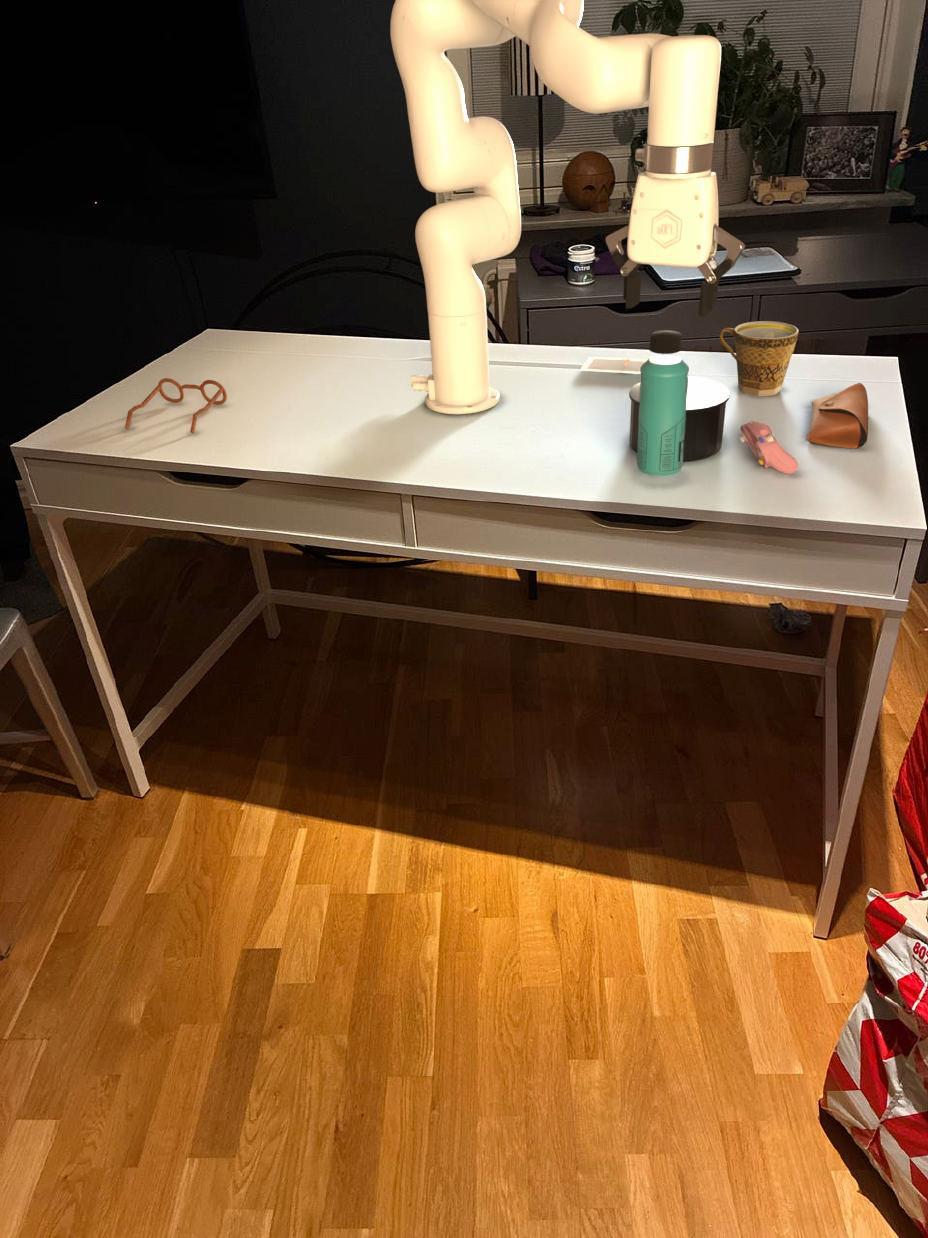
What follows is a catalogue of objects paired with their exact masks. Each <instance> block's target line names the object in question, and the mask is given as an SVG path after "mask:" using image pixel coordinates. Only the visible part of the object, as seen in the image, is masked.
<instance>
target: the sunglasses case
mask: <svg viewBox="0 0 928 1238" xmlns="http://www.w3.org/2000/svg"><path fill="white" fill-rule="evenodd" d="M811 407H812V414H811V420H810V426H809V429H808V432H807V435H806V442H807V441H808V442H809V443H812V444H817V445H820V446H825V447H830V448H840V449H851V450H857V449H860V448H862V447H864V446H865V445H866V444H867V442H868V438H869V398H868V393H867V389H866V386H865V385H864V384H863V383H862V382H857V383H853V384H852V385H849V386H848V387H846V388H844V389H843V390H841V391H837V392H835V393H831V394H828V395H824V396H821V397H819V398H816V399H813V400H811Z"/></svg>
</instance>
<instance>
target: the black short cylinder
mask: <svg viewBox="0 0 928 1238" xmlns="http://www.w3.org/2000/svg"><path fill="white" fill-rule="evenodd" d="M638 407H639V406H638V405H637V404H635V403H634V402H632V401H631V400H630V418H629V419H630V420H629V447H630V448H631V450H632V451H633V452H634V453H636V444H637V450H638V428H637V427H638V418H639V416H638V415H639V408H638ZM726 407H727V402H726V403H725V404H724V405H722V406H720V407H718V408H715V409H712V410H707V411H702V412H695V413H686V417H687V418H686V420H687V421H686V420H685V428H686V429H685V432H686V433H685V434H686V435H684V445H685V452H684V451H683V457H684V458H683V460H684V462H683V463H690V462H696V461H697V462H698V461H701V460H705V459H709V458H712V457H713V456H715V455H716V454H718V453H719V452H720V451H721V449H722V445H723V438H724V430H725V429H724V427H725V420H726V419H725V417H726ZM637 414H638V415H637ZM685 437H686V438H685Z"/></svg>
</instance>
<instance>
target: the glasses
mask: <svg viewBox="0 0 928 1238" xmlns="http://www.w3.org/2000/svg"><path fill="white" fill-rule="evenodd" d="M163 383H170V384H173V385H174V386H175V387H176V388H177V389H178V391H179V397H178V398H170V397H169V396H168V395H167V394H166V393H165V392H164V390H163ZM207 385H213V386H216V387H217V388H218V390H217V392H216V393H215V394H214V395H213V396H212V397H211V398H210V397H209V396H208V395H207V393H206V391H205V386H207ZM184 389H190V390H191V389H192V390H193V389H194V390H199V391H200V393H201V395H202V397H203V398H204V400H205V401H206V402H208V403H207V404H206V405H205V406H204V407H202V408H200V409H198V410H196V412H195V413H194V414H193V415H192V420H191V425H190V429H189V430H190V431H189V432H190V433H191V434H195V430H196V425H197V419H198V416H200V415H201V414H203V413H205V412H207V411H209V409H210V408H211V407H212V406H213V405H216V406H221V405H224V404H225V403H226V401H227V398H228V396H227V391H226V389H225V387H224V386H223V384H221V383H220V382H218V381H216V380H214V379H207V380H204V381H203V382H201V383H200V385H197V384H190V383H189V384H188V383H187V384H182V385H181V383H179V382H178V381H176V380H175V379H173V378H168V377H165V378H162V379H160V380H159V381H158V383H157V386H155V388H154V389H153V390H152V391H151V392H150V393H149V394H148V396H147V397H146V398H145V399H144V400H143V401H142V402H141V403H140V404H137V405H134V406H133V407H131V408H130V409H129V410H128V411H127V414H126V415H127V416H126V421H125V426H124V428H125V429H126V430H130V427H131V422H132V416H133V413H134V412H135V411H137V410H139V409H142V408H144V407H145V406H147V404H148V403H149V402H150V401H151V400H152V399H153V398H154V397H155V396H156V394H158V392H159V394H160V396H161V397H162V398H163V399H164V400H165V401H167V402H169V403H173V404H178V403H181V402H182V401H183V400H184V397H185V394H184ZM221 395H222V398H221V400H218V398H219V397H220V396H221Z"/></svg>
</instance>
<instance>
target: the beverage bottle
mask: <svg viewBox="0 0 928 1238" xmlns="http://www.w3.org/2000/svg"><path fill="white" fill-rule="evenodd" d="M682 347H683V344H682V334H681V332H679V331H677V330H668V329H665V330H663V329H661V330H657V331H654V332H652V333H651V335H650V340H649V344H648V351H650V352H651V353H654V354H658V355H653V356H651V357H649V358H648V359H646V360H647V361H646V362H645V363H644V364H643V365H642V366H641V368H640V372H641V374H640V379H639V381H640V401H639V407H638V408H639V415H638V414H637V415H638V416H639V418H638V427H637V428H638V450H637V444H636V452H635V454H636V455H635V457H636V458H635V461H636V466H637V468H638V470H639V472H642V473H644V474H646V475H649V476H655V477H657V476H658V477H664V476H671V475H675V474H677V473H678V472H681V470H682V468H683V466H684V463H685V462H684V460H683V458H684V457H683V451H684V452H685V445H684V435H686V434H685V433H686V432H685V429H686V428H685V420H686V418H687V417H686V412H687V411H686V404H687V400H688V399H687V382H688V375H689V371H690V367H689V365H688V364H687V363H686V361H685V360H684V359H683V358H681V357H680V356H677V355H673V354H677V353H679V352H681V351H682ZM686 421H687V420H686ZM685 438H686V437H685Z"/></svg>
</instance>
